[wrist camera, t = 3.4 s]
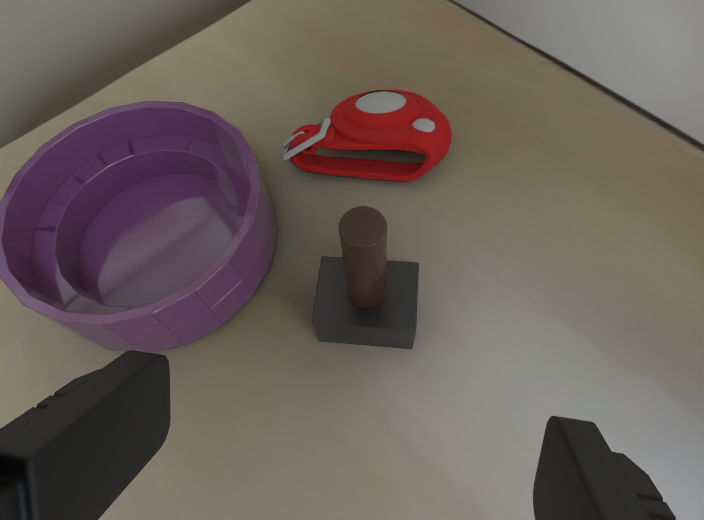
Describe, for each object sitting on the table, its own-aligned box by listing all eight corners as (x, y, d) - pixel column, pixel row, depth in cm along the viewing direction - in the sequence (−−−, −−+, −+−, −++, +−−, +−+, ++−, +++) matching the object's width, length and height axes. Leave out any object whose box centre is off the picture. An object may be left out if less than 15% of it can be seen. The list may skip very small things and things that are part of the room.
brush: (415, 285, 32) (430, 189, 22) (412, 349, 30) (428, 274, 20) (327, 279, 32) (304, 183, 23) (318, 341, 30) (290, 264, 21)
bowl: (293, 162, 37) (279, 105, 32) (253, 365, 30) (226, 335, 25) (99, 153, 39) (54, 97, 33) (16, 344, 31) (-58, 311, 26)
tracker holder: (372, 68, 40) (476, 95, 35) (374, 116, 43) (470, 149, 38) (262, 126, 34) (368, 170, 29) (274, 178, 37) (372, 227, 32)
